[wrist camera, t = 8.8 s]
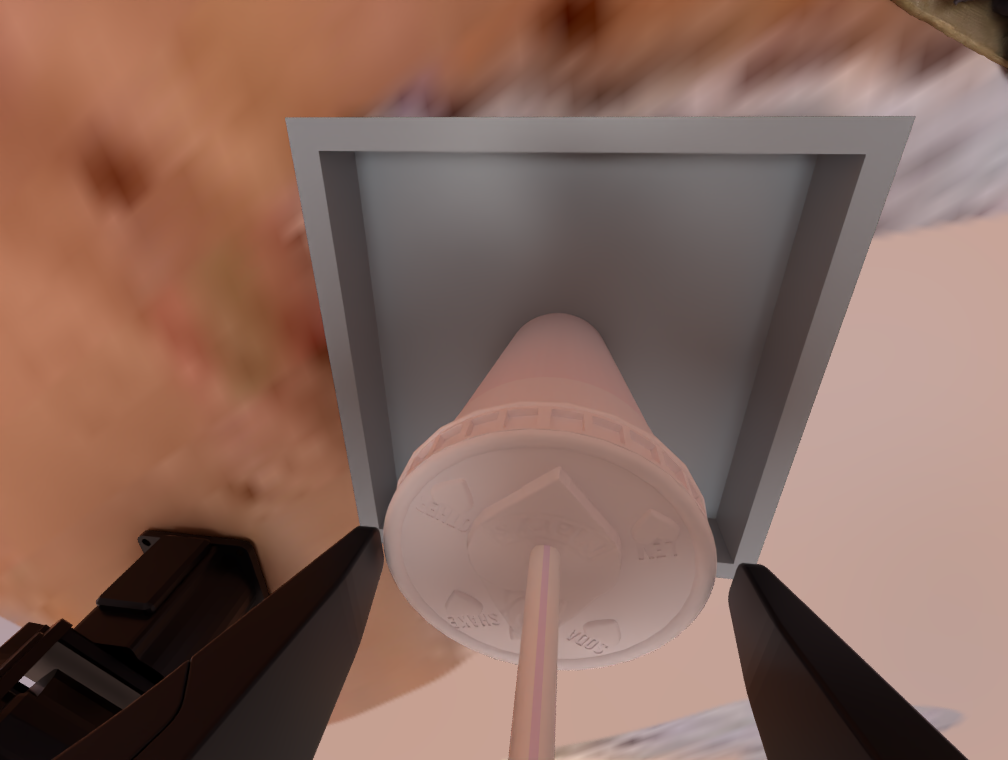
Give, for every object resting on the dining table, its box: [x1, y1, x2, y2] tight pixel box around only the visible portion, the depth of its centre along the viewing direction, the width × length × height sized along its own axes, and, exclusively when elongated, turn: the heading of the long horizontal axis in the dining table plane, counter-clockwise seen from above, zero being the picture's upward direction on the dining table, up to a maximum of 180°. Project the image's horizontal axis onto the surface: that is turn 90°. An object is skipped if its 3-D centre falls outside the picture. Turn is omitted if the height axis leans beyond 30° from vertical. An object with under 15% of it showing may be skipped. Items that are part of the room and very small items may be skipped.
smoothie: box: [383, 313, 717, 760], centre depth 11 cm, size 6×6×14 cm
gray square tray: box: [285, 116, 916, 579], centre depth 16 cm, size 16×16×3 cm
